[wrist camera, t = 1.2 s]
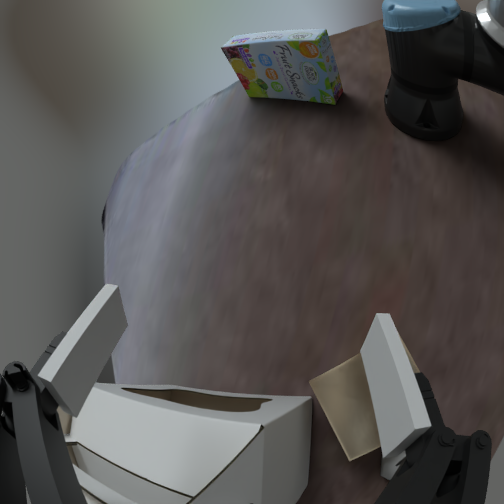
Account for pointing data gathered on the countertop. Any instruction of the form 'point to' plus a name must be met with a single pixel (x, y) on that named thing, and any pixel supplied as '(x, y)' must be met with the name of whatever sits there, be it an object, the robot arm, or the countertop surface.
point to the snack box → (286, 65)
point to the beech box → (351, 405)
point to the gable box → (189, 446)
